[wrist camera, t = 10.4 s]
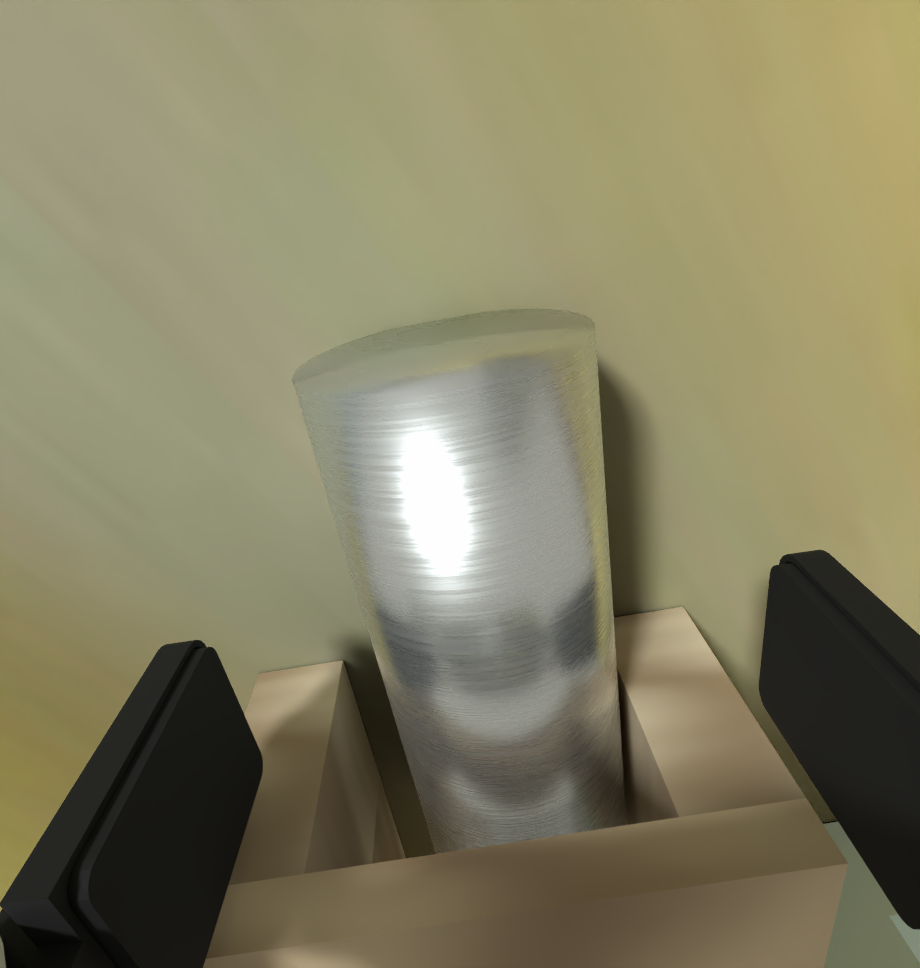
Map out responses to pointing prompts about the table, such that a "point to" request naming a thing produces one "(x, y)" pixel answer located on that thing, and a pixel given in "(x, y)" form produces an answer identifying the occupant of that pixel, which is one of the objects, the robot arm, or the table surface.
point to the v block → (867, 919)
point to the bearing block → (537, 842)
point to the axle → (481, 562)
